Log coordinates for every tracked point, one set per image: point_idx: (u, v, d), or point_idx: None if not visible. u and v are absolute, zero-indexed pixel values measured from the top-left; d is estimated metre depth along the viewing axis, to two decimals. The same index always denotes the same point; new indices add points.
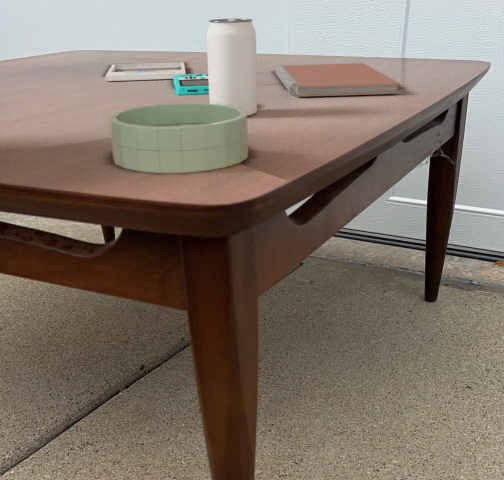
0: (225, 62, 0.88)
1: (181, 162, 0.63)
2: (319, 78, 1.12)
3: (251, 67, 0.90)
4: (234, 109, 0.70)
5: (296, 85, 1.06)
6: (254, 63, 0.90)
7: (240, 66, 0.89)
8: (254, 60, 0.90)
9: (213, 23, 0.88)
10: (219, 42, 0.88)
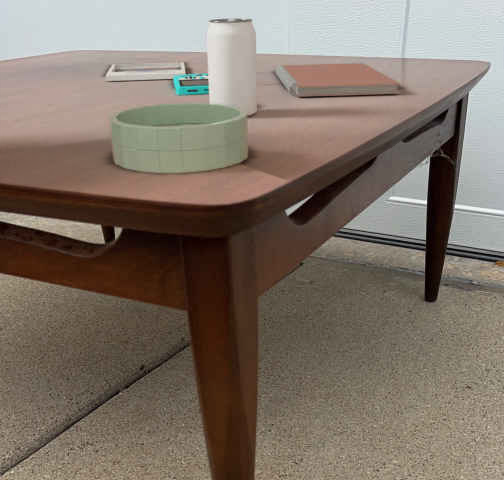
0: (225, 62, 0.88)
1: (181, 162, 0.63)
2: (319, 78, 1.12)
3: (251, 67, 0.90)
4: (234, 109, 0.70)
5: (296, 85, 1.06)
6: (254, 63, 0.90)
7: (240, 66, 0.89)
8: (254, 60, 0.90)
9: (213, 23, 0.88)
10: (219, 42, 0.88)
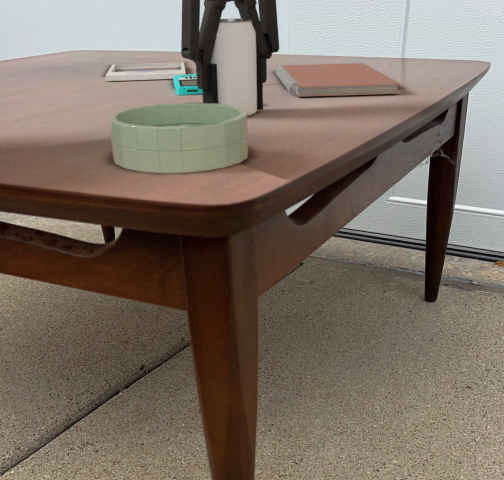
0: (225, 62, 0.88)
1: (181, 162, 0.63)
2: (319, 78, 1.12)
3: (251, 67, 0.90)
4: (234, 109, 0.70)
5: (296, 85, 1.06)
6: (254, 63, 0.90)
7: (240, 66, 0.89)
8: (254, 60, 0.90)
9: None
10: (219, 42, 0.88)
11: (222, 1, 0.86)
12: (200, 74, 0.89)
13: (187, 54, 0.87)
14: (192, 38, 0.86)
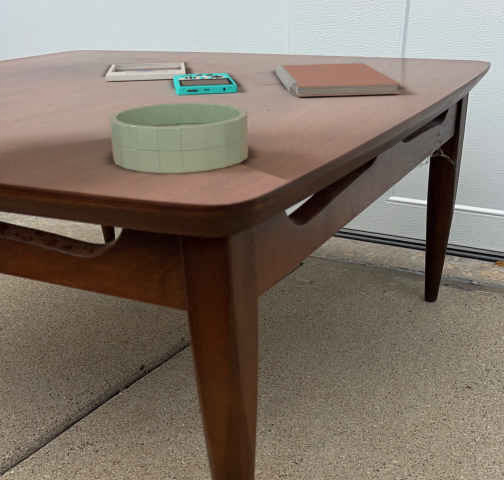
0: None
1: (181, 162, 0.63)
2: (319, 78, 1.12)
3: None
4: (234, 109, 0.70)
5: (296, 85, 1.06)
6: None
7: None
8: None
9: None
10: None
11: None
12: None
13: None
14: None
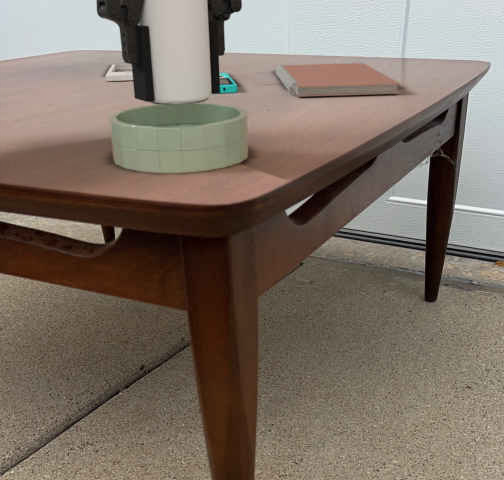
0: (161, 23, 0.61)
1: (181, 162, 0.63)
2: (319, 78, 1.12)
3: (199, 30, 0.62)
4: (234, 109, 0.70)
5: (296, 85, 1.06)
6: (204, 26, 0.63)
7: (183, 30, 0.61)
8: (205, 22, 0.63)
9: None
10: None
11: None
12: (125, 41, 0.62)
13: (104, 11, 0.60)
14: None
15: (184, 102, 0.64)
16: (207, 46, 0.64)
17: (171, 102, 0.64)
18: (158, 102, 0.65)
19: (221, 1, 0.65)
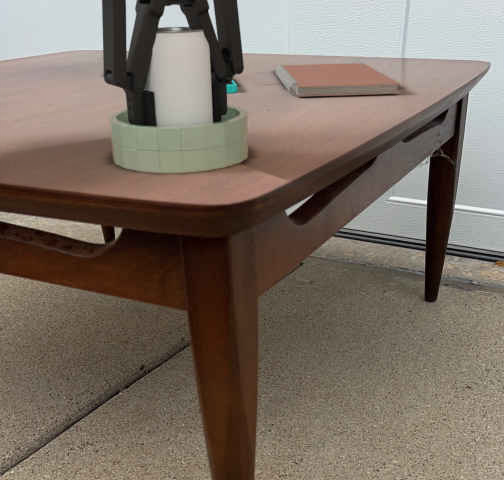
0: (166, 88, 0.63)
1: (181, 162, 0.63)
2: (319, 78, 1.12)
3: (203, 94, 0.65)
4: (234, 109, 0.70)
5: (296, 85, 1.06)
6: (208, 89, 0.65)
7: (187, 94, 0.64)
8: (208, 85, 0.65)
9: None
10: (157, 61, 0.63)
11: (159, 5, 0.61)
12: (131, 106, 0.64)
13: (111, 79, 0.62)
14: (116, 57, 0.61)
15: None
16: (210, 107, 0.66)
17: None
18: None
19: (224, 65, 0.67)
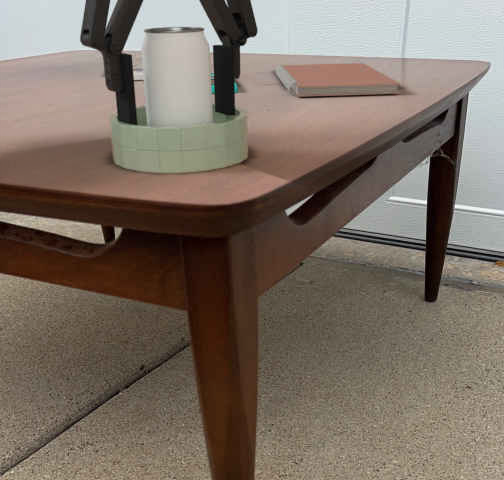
0: (166, 88, 0.63)
1: (181, 162, 0.63)
2: (319, 78, 1.12)
3: (203, 94, 0.65)
4: None
5: (296, 85, 1.06)
6: (208, 89, 0.65)
7: (187, 94, 0.64)
8: (208, 85, 0.65)
9: (148, 34, 0.63)
10: (157, 61, 0.63)
11: None
12: (109, 69, 0.62)
13: (87, 39, 0.60)
14: (96, 16, 0.59)
15: None
16: (210, 107, 0.66)
17: None
18: None
19: (236, 27, 0.67)
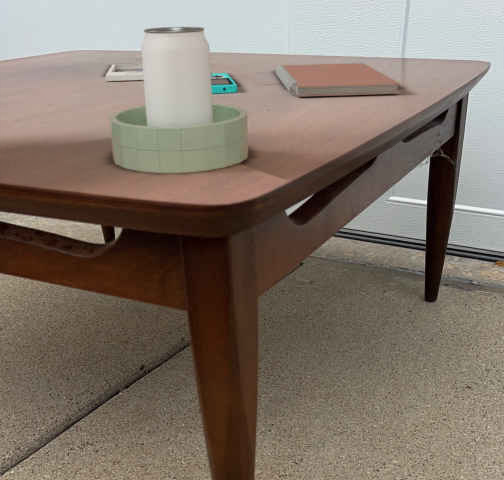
0: (166, 88, 0.63)
1: (181, 162, 0.63)
2: (319, 78, 1.12)
3: (203, 94, 0.65)
4: (234, 109, 0.70)
5: (296, 85, 1.06)
6: (208, 89, 0.65)
7: (187, 94, 0.64)
8: (208, 85, 0.65)
9: (148, 34, 0.63)
10: (157, 61, 0.63)
11: None
12: None
13: None
14: None
15: None
16: (210, 107, 0.66)
17: None
18: None
19: None
